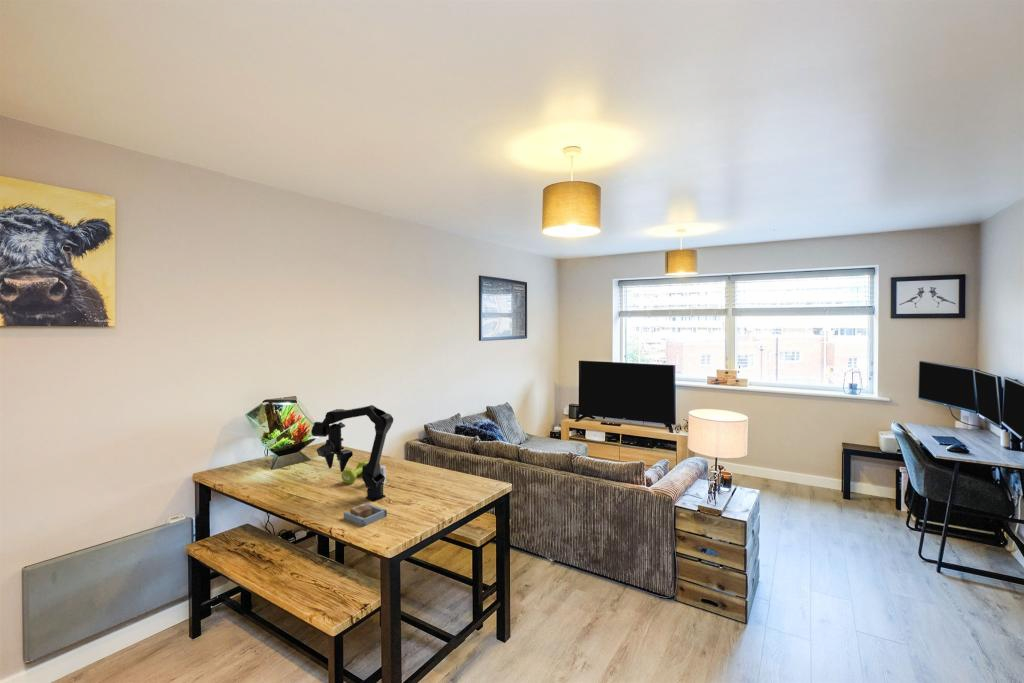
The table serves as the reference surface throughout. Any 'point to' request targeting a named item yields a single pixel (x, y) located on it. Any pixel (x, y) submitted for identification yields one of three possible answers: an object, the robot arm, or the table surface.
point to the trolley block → (361, 510)
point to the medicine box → (383, 472)
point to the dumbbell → (352, 473)
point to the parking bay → (365, 521)
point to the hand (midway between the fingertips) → (336, 469)
